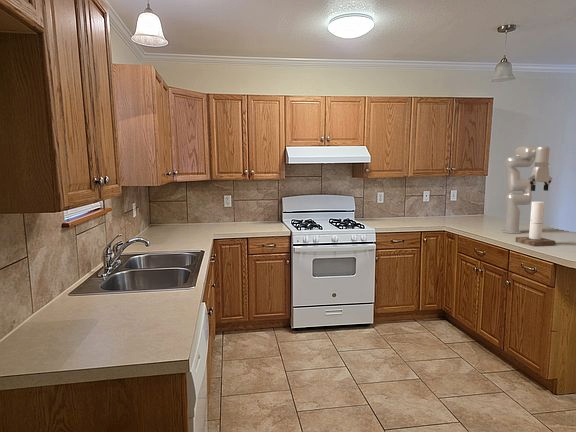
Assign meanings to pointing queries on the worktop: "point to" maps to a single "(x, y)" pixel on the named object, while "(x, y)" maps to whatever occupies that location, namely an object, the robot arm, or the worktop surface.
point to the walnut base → (535, 241)
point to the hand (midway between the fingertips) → (539, 190)
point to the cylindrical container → (536, 220)
